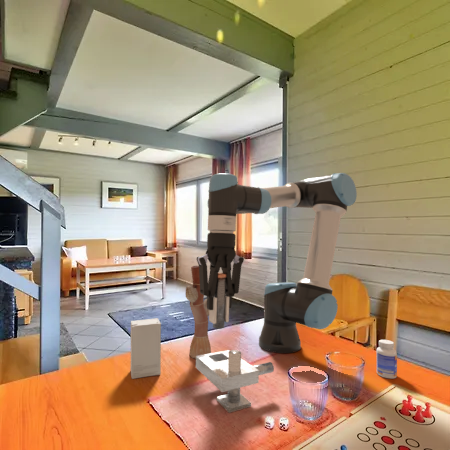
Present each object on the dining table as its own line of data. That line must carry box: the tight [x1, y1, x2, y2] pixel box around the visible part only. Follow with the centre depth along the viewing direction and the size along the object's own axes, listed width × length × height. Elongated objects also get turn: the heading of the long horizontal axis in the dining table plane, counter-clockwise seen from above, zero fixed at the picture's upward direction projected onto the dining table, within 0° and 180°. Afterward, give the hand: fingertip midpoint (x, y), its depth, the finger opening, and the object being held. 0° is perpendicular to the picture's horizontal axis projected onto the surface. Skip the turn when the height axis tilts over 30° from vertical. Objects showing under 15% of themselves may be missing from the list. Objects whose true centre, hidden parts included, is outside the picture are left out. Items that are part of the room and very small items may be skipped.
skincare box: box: [130, 317, 162, 380], centre depth 89 cm, size 8×6×15 cm
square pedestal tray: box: [195, 349, 275, 413], centre depth 79 cm, size 14×16×12 cm
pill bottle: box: [375, 339, 398, 379], centre depth 91 cm, size 5×5×10 cm
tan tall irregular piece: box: [185, 265, 212, 360], centre depth 103 cm, size 10×7×30 cm
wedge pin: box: [212, 272, 227, 330], centre depth 81 cm, size 3×3×14 cm
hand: (218, 321), depth 81 cm, fingers closed on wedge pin, 3 cm apart
